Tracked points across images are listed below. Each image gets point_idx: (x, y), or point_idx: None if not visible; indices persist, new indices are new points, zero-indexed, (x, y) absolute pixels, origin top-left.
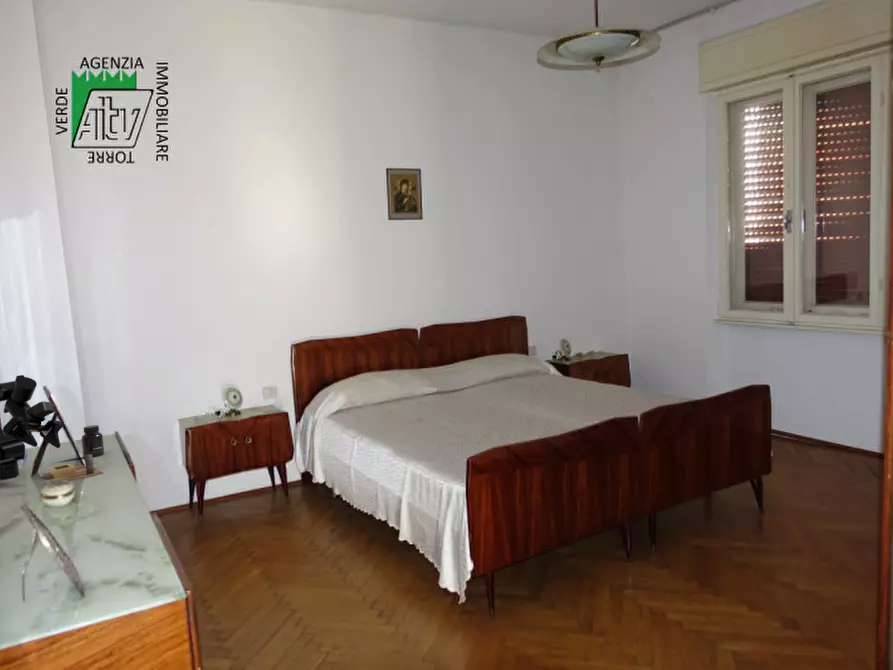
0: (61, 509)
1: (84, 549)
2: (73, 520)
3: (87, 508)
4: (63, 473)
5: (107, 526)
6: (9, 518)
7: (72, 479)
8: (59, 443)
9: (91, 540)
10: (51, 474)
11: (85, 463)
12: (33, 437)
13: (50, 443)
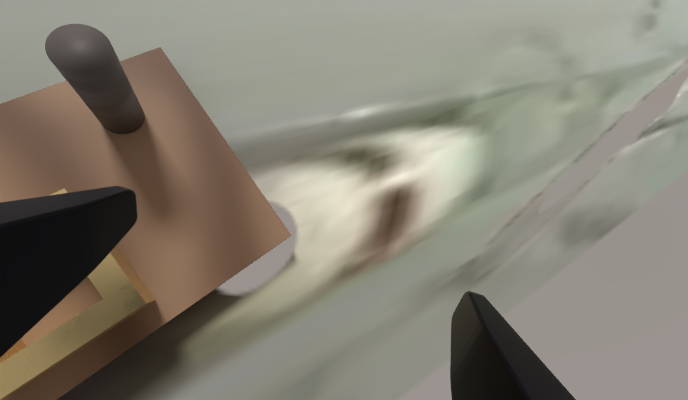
0: (513, 132)
1: (678, 34)
2: (579, 80)
3: (513, 64)
4: (118, 255)
5: (606, 9)
6: (562, 262)
7: (221, 180)
8: (96, 193)
9: (654, 29)
10: (90, 342)
11: (114, 100)
12: (531, 375)
13: (12, 341)
